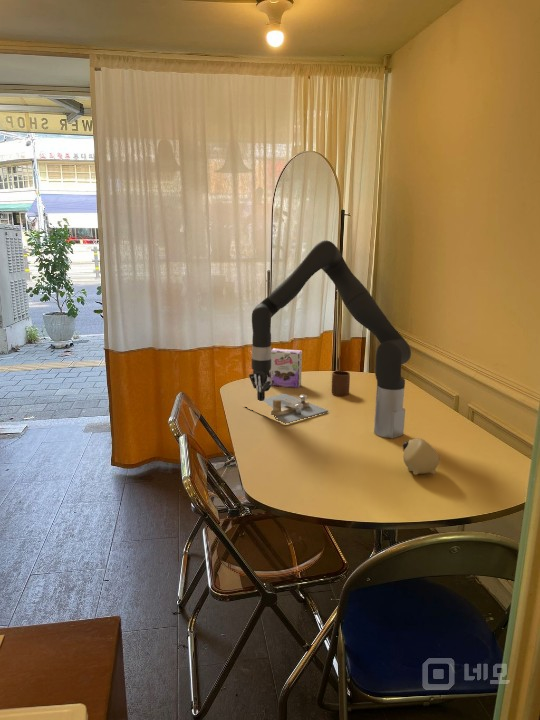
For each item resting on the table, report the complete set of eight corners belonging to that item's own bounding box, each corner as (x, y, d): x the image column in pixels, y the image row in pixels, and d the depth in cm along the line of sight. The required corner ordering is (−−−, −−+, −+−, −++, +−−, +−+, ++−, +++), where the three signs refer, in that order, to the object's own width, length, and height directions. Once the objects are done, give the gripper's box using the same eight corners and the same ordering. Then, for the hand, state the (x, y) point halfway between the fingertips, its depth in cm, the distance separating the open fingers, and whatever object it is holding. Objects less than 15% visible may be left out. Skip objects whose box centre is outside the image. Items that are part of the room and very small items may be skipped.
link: (302, 403, 201) (303, 390, 200) (311, 406, 198) (312, 393, 196) (269, 413, 189) (269, 399, 188) (278, 417, 186) (278, 403, 185)
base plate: (328, 412, 194) (328, 410, 194) (285, 425, 181) (285, 423, 181) (284, 395, 214) (284, 393, 214) (242, 406, 200) (242, 404, 200)
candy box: (268, 385, 228) (269, 350, 223) (272, 382, 233) (272, 347, 229) (298, 388, 224) (299, 352, 219) (301, 384, 229) (302, 349, 225)
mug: (327, 388, 224) (328, 368, 222) (343, 387, 225) (344, 367, 223) (333, 396, 213) (334, 375, 211) (351, 396, 214) (352, 375, 211)
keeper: (316, 410, 194) (317, 399, 193) (297, 415, 188) (297, 404, 187) (299, 403, 201) (300, 392, 200) (280, 408, 195) (280, 397, 194)
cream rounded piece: (427, 462, 154) (430, 429, 151) (443, 481, 142) (446, 446, 139) (395, 462, 153) (398, 430, 150) (409, 482, 141) (412, 447, 139)
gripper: (280, 359, 187) (279, 403, 192) (258, 352, 197) (258, 394, 201) (264, 362, 182) (264, 407, 187) (243, 355, 192) (243, 397, 197)
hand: (260, 400), depth 194 cm, fingers closed
